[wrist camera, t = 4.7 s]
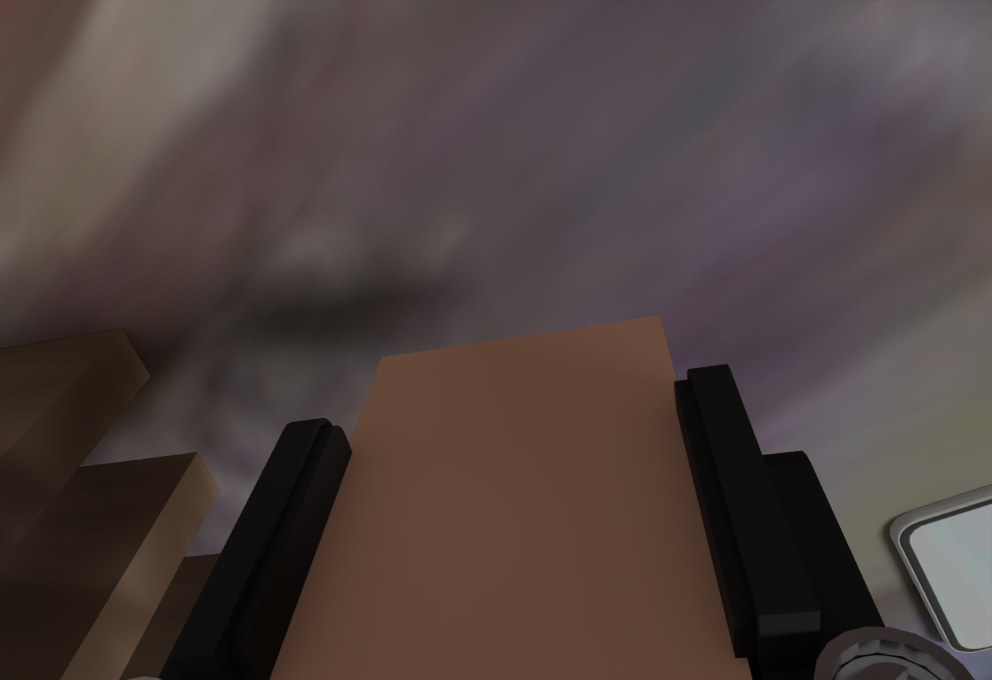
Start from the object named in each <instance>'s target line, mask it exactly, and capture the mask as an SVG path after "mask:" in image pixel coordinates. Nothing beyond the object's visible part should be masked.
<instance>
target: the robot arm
mask: <svg viewBox="0 0 992 680" xmlns="http://www.w3.org/2000/svg"><path fill="white" fill-rule="evenodd" d="M687 379H688V380H681V381H674V392H675V402H676V411H677V416H678V420H679V424H680V428H681V432H682V437H683V441H684V445H685V449H686V453H687V458H688V462H689V466H690V470H691V474H692V478H693V483H694V487H695V491H696V495H697V499H698V504H699V508H700V512H701V516H702V520H703V525H704V529H705V533H706V537H707V541H708V546H709V550H710V554H711V558H712V562H713V567H714V571H715V575H716V579H717V583H718V588H719V592H720V596H721V600H722V604H723V609H724V613H725V617H726V621H727V625H728V630H729V634H730V638H731V642H732V646H733V651H734V655H735V658H747V660H748V664H749V668H750V672H751V676H752V680H975V679H974V678H973V677H972V675H971V674H970V673H969V672H968V670H967V669H966V668H965V667H964V665H963V664H962V663H960V662H959V661H958V660H957V659H955V658H954V657H953V656H952V655H951V654H949V653H948V652H947V651H946V650H944V649H943V648H942V647H940V646H938V645H936V644H934V643H933V642H931V641H929V640H927V639H925V638H923V637H921V636H919V635H917V634H914V633H910V632H906V631H902V630H899V629H895V628H891V627H885V625H884V623H883V621H882V619H881V616H880V614H879V612H878V610H877V608H876V605H875V603H874V601H873V599H872V597H871V594H870V592H869V590H868V588H867V586H866V583H865V581H864V579H863V577H862V574H861V572H860V570H859V568H858V566H857V563H856V561H855V559H854V557H853V555H852V552H851V550H850V548H849V546H848V544H847V541H846V539H845V537H844V535H843V533H842V530H841V528H840V526H839V524H838V522H837V519H836V517H835V515H834V513H833V511H832V508H831V506H830V504H829V502H828V500H827V497H826V495H825V493H824V491H823V489H822V486H821V484H820V482H819V480H818V478H817V475H816V473H815V471H814V469H813V467H812V464H811V462H810V460H809V459H808V457H807V455H806V454H805V453H804V452H803V451H794V452H785V453H776V454H767V455H762V453H761V450H760V448H759V445H758V442H757V440H756V437H755V434H754V432H753V429H752V426H751V424H750V421H749V418H748V416H747V413H746V410H745V407H744V405H743V402H742V399H741V397H740V394H739V391H738V389H737V386H736V383H735V381H734V378H733V375H732V373H731V370H730V368H729V366H728V365H727V364H724V365H716V366H709V367H701V368H693V369H688V370H687ZM351 455H352V450H351V447H350V445H349V442H348V440H347V438H346V435H345V433H344V431H343V429H342V428H341V427H340V426H332V424H331V422H330V421H329V420H327V419H325V418H319V419H312V420H304V421H297V422H291V423H289V424H287V425H286V427H285V428H284V430H283V432H282V434H281V436H280V438H279V440H278V442H277V444H276V446H275V448H274V450H273V452H272V453H271V455H270V457H269V459H268V461H267V463H266V465H265V467H264V469H263V471H262V473H261V475H260V477H259V479H258V481H257V483H256V485H255V487H254V489H253V491H252V493H251V495H250V497H249V499H248V501H247V503H246V505H245V507H244V509H243V511H242V513H241V515H240V517H239V519H238V521H237V522H236V524H235V526H234V528H233V530H232V532H231V534H230V536H229V538H228V540H227V542H226V544H225V546H224V548H223V550H222V552H221V554H220V556H219V558H218V560H217V562H216V564H215V566H214V568H213V570H212V572H211V574H210V576H209V578H208V580H207V582H206V584H205V586H204V588H203V590H202V591H201V593H200V595H199V597H198V599H197V601H196V603H195V605H194V607H193V609H192V611H191V613H190V615H189V617H188V619H187V621H186V623H185V625H184V627H183V629H182V631H181V633H180V635H179V637H178V639H177V641H176V643H175V645H174V647H173V649H172V651H171V653H170V655H169V657H168V659H167V661H166V663H165V665H164V667H163V669H162V671H161V673H160V675H159V677H158V678H153V677H146V676H144V677H139V678H133V679H128V680H270V677H271V674H272V671H273V669H274V666H275V663H276V660H277V658H278V655H279V652H280V650H281V647H282V644H283V641H284V639H285V636H286V633H287V630H288V628H289V625H290V622H291V619H292V617H293V614H294V611H295V608H296V606H297V603H298V600H299V597H300V595H301V592H302V589H303V586H304V584H305V581H306V578H307V576H308V573H309V570H310V567H311V565H312V562H313V559H314V556H315V554H316V551H317V548H318V545H319V543H320V540H321V537H322V534H323V532H324V529H325V526H326V523H327V521H328V518H329V515H330V512H331V510H332V507H333V504H334V502H335V499H336V496H337V493H338V491H339V488H340V485H341V482H342V480H343V477H344V474H345V471H346V469H347V466H348V463H349V460H350V458H351Z"/></svg>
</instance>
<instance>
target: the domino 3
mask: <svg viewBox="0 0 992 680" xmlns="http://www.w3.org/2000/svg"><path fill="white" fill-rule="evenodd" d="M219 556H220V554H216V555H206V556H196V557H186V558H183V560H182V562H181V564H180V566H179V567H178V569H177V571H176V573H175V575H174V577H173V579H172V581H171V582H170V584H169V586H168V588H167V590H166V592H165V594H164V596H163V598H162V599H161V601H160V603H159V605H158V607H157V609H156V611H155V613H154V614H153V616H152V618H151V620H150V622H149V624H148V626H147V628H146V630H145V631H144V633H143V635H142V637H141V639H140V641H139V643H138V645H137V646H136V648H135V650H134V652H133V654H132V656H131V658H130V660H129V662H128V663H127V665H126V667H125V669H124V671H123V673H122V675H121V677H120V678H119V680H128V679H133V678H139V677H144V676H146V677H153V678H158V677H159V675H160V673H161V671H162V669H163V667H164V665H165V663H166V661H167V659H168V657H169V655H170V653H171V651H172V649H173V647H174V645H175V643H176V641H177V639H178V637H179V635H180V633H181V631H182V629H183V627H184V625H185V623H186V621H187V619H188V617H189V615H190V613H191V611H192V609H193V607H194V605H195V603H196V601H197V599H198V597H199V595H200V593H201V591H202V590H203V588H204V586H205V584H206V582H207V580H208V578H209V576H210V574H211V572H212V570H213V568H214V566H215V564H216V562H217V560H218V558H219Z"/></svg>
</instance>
